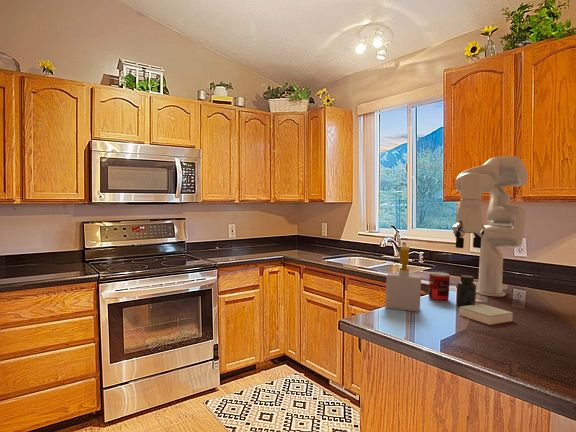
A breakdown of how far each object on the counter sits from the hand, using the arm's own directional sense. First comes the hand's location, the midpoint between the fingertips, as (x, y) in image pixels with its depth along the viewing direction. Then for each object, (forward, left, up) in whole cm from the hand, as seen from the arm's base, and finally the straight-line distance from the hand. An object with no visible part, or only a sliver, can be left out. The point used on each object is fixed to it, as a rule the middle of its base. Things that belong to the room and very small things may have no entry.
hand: (468, 247), depth 151 cm
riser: (+7, +14, -23) cm, 28 cm away
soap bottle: (+27, -6, -24) cm, 36 cm away
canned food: (+2, -12, -24) cm, 27 cm away
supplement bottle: (0, 0, -24) cm, 24 cm away
